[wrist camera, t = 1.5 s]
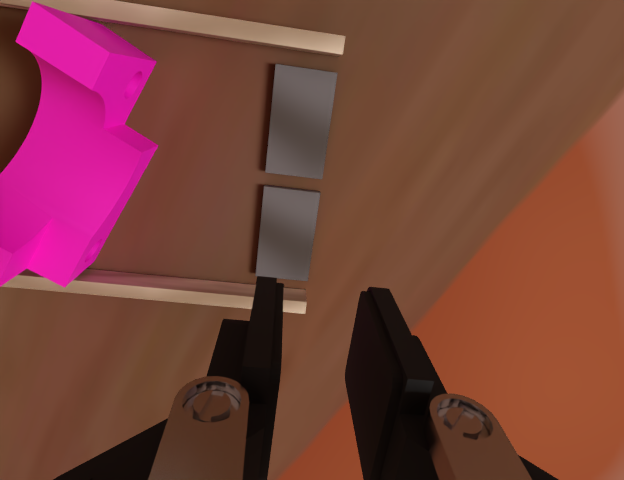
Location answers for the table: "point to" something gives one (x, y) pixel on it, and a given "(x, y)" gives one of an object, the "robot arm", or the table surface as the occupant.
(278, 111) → the channel
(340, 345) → the table surface
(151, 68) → the toy block
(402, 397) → the robot arm
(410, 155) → the table surface
